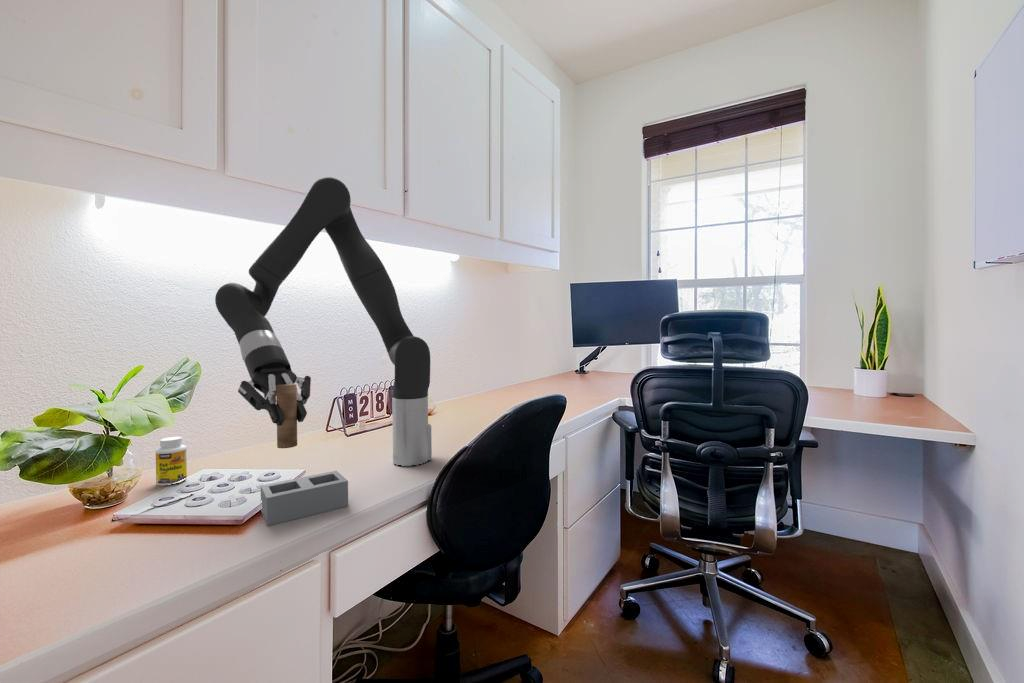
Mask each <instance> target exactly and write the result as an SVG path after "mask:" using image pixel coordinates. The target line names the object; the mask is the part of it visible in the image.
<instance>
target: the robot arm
mask: <svg viewBox="0 0 1024 683" xmlns="http://www.w3.org/2000/svg"><path fill="white" fill-rule="evenodd" d="M323 230H325V232H326V233H327V235H328V236H329V238H330V240H331V241H332V244H334V247H335V250H336V251H337V254H338V257H339V258H340V261H341V264H342V267H343V269H344V271H345V273H346V276H347V277H348V280H349V281H350V285H351V286H352V288H353V290H354V291H355V294H356V295H357V297H358V298H359V299H358V300H360V302H361V304H362V305H363V307H364V309H365V310H366V312H367V314H368V315H369V317H370V319H371V320H372V321H373V323H374V324H375V326H376V328H377V330H378V332H379V334H380V336H381V337H380V338H381V340H382V342H383V344H384V347H385V349H386V352H387V355H388V357H389V360H390V362H391V363H392V365H394V380H393V381H394V382H393V386H392V388H391V402H392V403H391V404H392V405H391V406H392V407H391V408H392V409H391V410H392V412H391V414H392V416H391V417H392V419H391V420H392V463H393V464H394V465H395V464H396V465H395V466H398V465H401V466H400V467H413V466H412V465H416V466H420V465H419V464H421V465H424V464H425V462H426V463H428V462H429V461H428V460H431V459H433V458H432V456H433V452H432V451H433V450H432V448H433V447H432V444H433V442H432V425H431V423H429V388H430V385H431V384H430V383H431V352H430V347H429V345H428V343H427V342H426V341H425V340H424V339H422V338H420V337H418V336H414V334H413V333H412V331H411V329H410V328H409V326H408V324H407V322H406V320H405V319H404V317H403V314H402V311H401V309H400V304H399V301H398V295H397V291H396V288H395V286H394V283H393V281H392V279H391V277H390V275H389V273H388V271H387V270H386V269H387V268H385V265H384V264H383V262H382V260H381V259H380V257H379V256H378V254H377V253H376V251H375V250H374V249H373V248H372V246H371V245H370V244H369V242H368V241H367V240H366V238H365V237H364V236H363V234H362V231H361V230H360V228H359V225H358V224H357V220H356V219H355V217H354V213H353V211H352V208H351V194H350V191H349V189H348V187H347V186H346V184H345V183H344V182H343V181H341V180H339V179H337V178H336V177H332V176H330V177H329V176H326V177H322V178H319V179H317V180H315V181H314V182H313V184H312V185H311V186H310V188H309V191H308V193H307V195H306V196H305V197H304V199H303V201H302V204H301V205H300V207H299V208H298V209H297V211H296V212H295V213H294V215H293V217H292V218H291V219H290V221H288V223H287V225H286V226H285V227H284V228H283V229H282V230H281V231H280V233H278V235H277V236H276V237H275V238H274V239H273V240H272V242H271V243H270V244H269V245H267V247H266V248H265V250H263V252H262V253H260V255H259V256H258V257H257V258H256V260H255V261H254V262H253V263H252V264H251V266H250V267H249V269H248V275H249V276H250V277H251V278H252V279H253V281H255V286H254V289H253V291H252V290H251V289H249V288H248V287H246V286H244V285H243V284H240V283H236V282H228V283H225V284H223V285H221V286H220V287H219V289H218V290H217V291H216V294H215V296H214V297H215V298H214V300H215V307H216V310H217V311H218V313H219V314H220V316H221V317H222V318H223V320H224V321H225V322H226V324H227V325H228V327H229V328H231V330H232V331H233V333H234V335H235V338H236V340H237V343H238V345H239V348H240V354H241V358H242V360H243V363H244V364H245V367H246V369H247V372H248V375H249V377H250V379H251V380H250V381H247V380H242V381H240V383H239V384H240V385H239V387H238V389H237V392H238V393H239V395H241V397H242V398H243V399H245V401H247V402H248V403H249V404H250V405H251V406H252V407H253V408H254V409H255V410H257V411H261V410H265V411H266V412H268V415H269V418H270V420H271V422H272V423H273V424H276V427H277V426H279V425H282V423H283V421H284V417H283V414H282V412H281V409H280V407H279V405H278V404H277V396H276V386H277V385H282V384H296V385H297V386H298V389H300V393H299V391H298V390H297V423H302V422H303V423H304V420H305V418H306V417H307V415H308V411H307V409H306V408H305V405H306V404H307V402H308V400H309V398H310V396H311V386H312V385H311V382H312V381H311V380H312V377H311V376H309V375H305V376H304V377H301V376H298V375H297V374H296V373H294V372H293V370H292V368H291V364H290V362H289V359H288V357H287V354H286V352H285V349H284V348H283V346H282V343H281V341H280V340H279V338H278V337H277V336H276V333H275V332H274V329H273V327H272V325H271V323H270V321H269V319H267V317H266V315H268V314H267V313H268V312H269V310H270V309H271V307H272V304H273V301H274V300H275V297H276V295H277V293H278V290H279V288H280V286H281V284H283V283H284V282H285V280H286V279H287V278H288V277H289V275H290V274H291V273H292V272H293V270H294V269H295V268H296V266H297V265H298V264H299V262H300V261H301V260H302V258H303V256H304V255H305V253H306V252H307V250H308V249H309V247H310V246H311V244H312V243H313V241H314V240H315V239H316V238H317V236H318V235H319V234H320V233H321V232H322V231H323ZM260 392H261V393H262V394H263V395H261V393H260ZM427 461H428V462H427ZM431 461H432V460H431ZM423 463H424V464H423Z"/></svg>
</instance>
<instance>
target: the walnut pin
mask: <svg viewBox="0 0 1024 683" xmlns="http://www.w3.org/2000/svg"><path fill="white" fill-rule="evenodd" d="M297 386H298V384H297V383H294V384H282V385H277V386H276V404H278V405H279V407H280V409H281V412H282V414H283V417H284V421H283V423H282V425H279V426H277V425H276V447H277V448H278V449H291V448H294V447H296V446H298V420H297V391H298V387H297Z"/></svg>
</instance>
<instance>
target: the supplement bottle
mask: <svg viewBox="0 0 1024 683" xmlns="http://www.w3.org/2000/svg"><path fill="white" fill-rule="evenodd" d="M187 458H188V457H187V446H186V445H184V444H183V437H181V436H173V437H171V436H170V437H164V438H162V439H160V440H159V447H158V448H156V450H155V481H156V482H155V483H156V485H157V486H159V485H168V484H173V483H175V482H178V481H180V480H182V479H184V478H186V477H188V475H187V474H188V473H187V472H188V470H187V469H188V468H187V464H188V463H187ZM186 479H187V478H186Z"/></svg>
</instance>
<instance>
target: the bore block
mask: <svg viewBox="0 0 1024 683" xmlns="http://www.w3.org/2000/svg"><path fill="white" fill-rule="evenodd" d="M261 500H262V509H261V508H260V512H261V515H262V517H263V519H264V522H265V524H266V526H267V527H269V526H273V525H277V524H281V523H285V522H288V521H293V520H297V519H300V518H305V517H309V516H313V515H318V514H321V513H325V512H330V511H333V510H337V509H342V508H345V507H349V481H348V479H347V478H345V477H344V476H343V475H342V474H341V473H340V472H339V471H338V470H333V471H328V472H321V473H317V474H312V475H307V476H301V477H298V478H292V479H286V480H281V481H276V482H272V483H266V484H260V501H261Z"/></svg>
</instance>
